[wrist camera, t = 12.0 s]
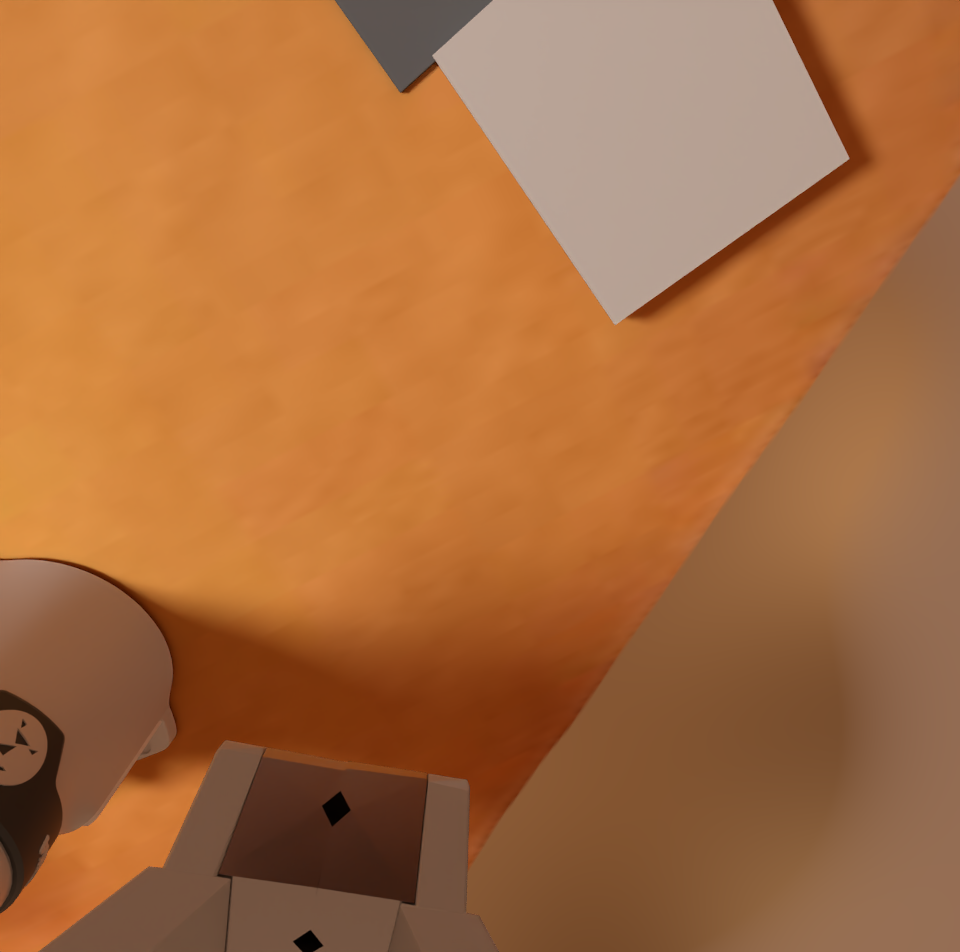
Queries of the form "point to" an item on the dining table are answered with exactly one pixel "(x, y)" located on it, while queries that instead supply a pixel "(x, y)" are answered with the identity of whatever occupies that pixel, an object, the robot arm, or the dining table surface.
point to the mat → (408, 31)
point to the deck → (644, 127)
